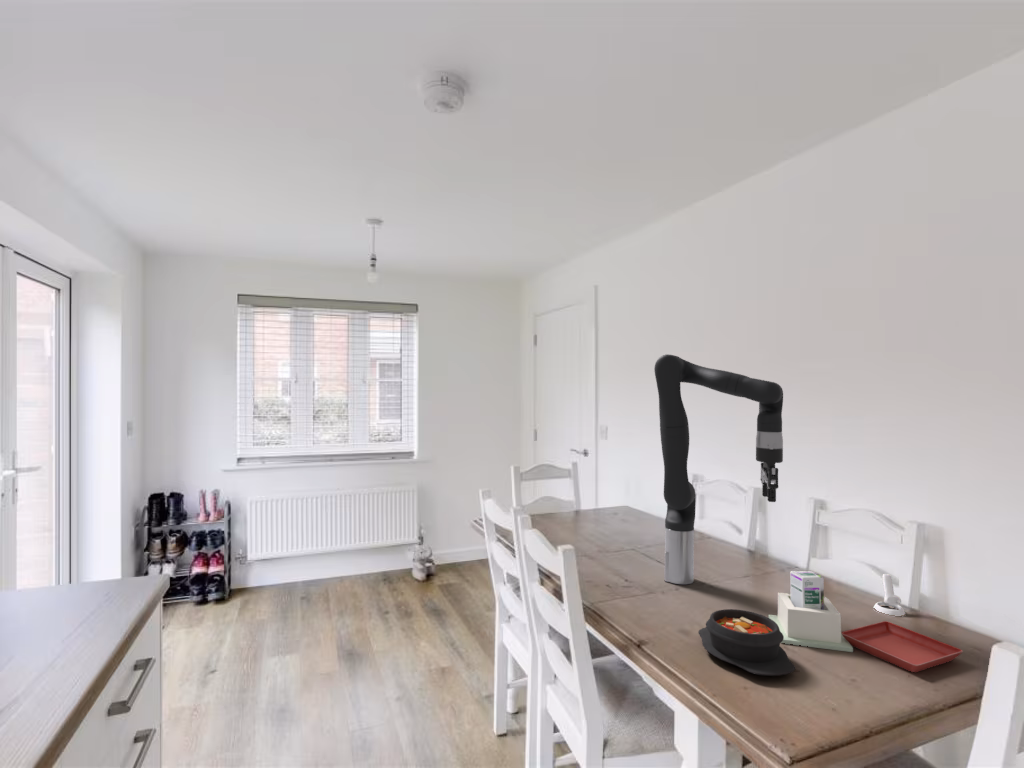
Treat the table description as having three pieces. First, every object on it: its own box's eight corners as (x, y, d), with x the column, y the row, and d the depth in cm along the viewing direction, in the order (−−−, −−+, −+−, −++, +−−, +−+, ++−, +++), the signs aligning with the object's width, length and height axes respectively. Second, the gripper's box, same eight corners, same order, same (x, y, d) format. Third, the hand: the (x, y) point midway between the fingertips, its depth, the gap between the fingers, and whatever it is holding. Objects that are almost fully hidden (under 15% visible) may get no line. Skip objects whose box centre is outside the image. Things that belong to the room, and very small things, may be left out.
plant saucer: (916, 679, 120) (916, 664, 120) (839, 644, 137) (839, 631, 137) (964, 664, 127) (964, 650, 127) (885, 633, 144) (885, 620, 144)
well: (780, 643, 136) (780, 611, 136) (768, 618, 152) (768, 589, 152) (852, 652, 132) (853, 618, 132) (832, 625, 148) (832, 595, 148)
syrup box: (803, 634, 139) (803, 577, 140) (789, 624, 145) (789, 569, 145) (824, 633, 140) (824, 576, 140) (810, 624, 146) (810, 569, 146)
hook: (888, 584, 166) (904, 577, 160) (896, 625, 159) (913, 619, 153) (863, 578, 166) (878, 571, 161) (870, 618, 159) (886, 613, 154)
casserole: (817, 679, 119) (817, 640, 119) (742, 688, 115) (743, 648, 115) (744, 630, 144) (744, 598, 144) (680, 636, 139) (680, 603, 139)
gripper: (752, 443, 176) (752, 494, 176) (760, 448, 162) (759, 502, 162) (777, 444, 174) (777, 495, 174) (787, 449, 160) (787, 504, 160)
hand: (768, 499), depth 168 cm, fingers open, 8 cm apart
